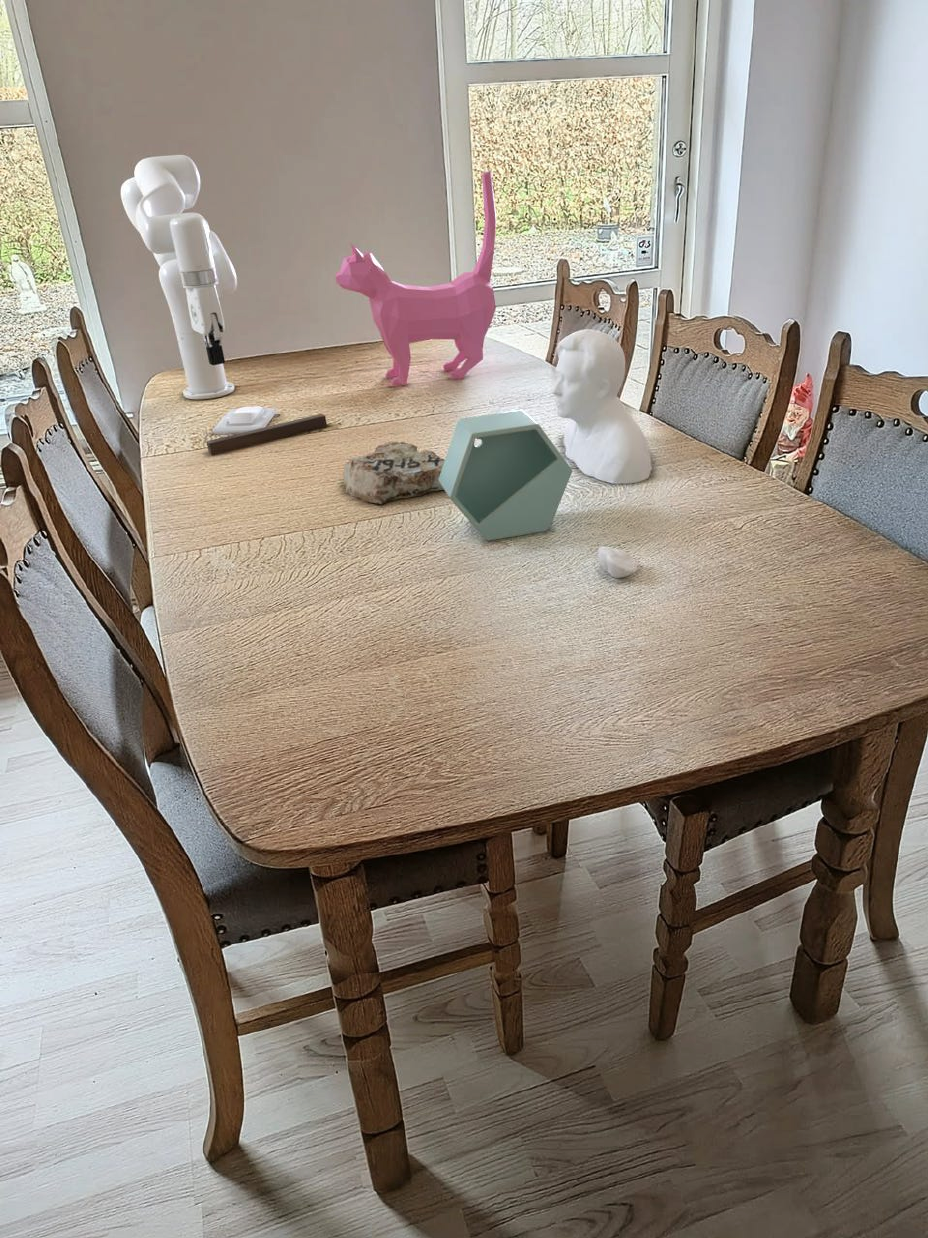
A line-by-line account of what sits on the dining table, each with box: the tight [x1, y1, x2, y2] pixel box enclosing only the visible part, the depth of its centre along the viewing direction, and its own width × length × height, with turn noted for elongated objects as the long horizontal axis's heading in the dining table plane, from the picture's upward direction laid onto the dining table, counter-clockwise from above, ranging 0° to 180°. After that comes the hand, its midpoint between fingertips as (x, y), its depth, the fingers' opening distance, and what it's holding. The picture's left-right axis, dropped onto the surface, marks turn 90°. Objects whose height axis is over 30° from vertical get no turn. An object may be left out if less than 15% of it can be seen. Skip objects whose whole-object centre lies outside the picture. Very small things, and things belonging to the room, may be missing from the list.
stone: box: [342, 441, 445, 505], centre depth 157 cm, size 19×6×25 cm
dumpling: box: [597, 545, 638, 579], centre depth 121 cm, size 7×5×4 cm
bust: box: [551, 328, 653, 485], centre depth 155 cm, size 28×19×24 cm
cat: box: [334, 170, 497, 387], centre depth 205 cm, size 13×39×45 cm, turn 104°
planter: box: [438, 409, 573, 542], centre depth 133 cm, size 17×8×21 cm
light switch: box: [212, 406, 278, 435], centre depth 192 cm, size 11×4×13 cm
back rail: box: [205, 413, 328, 456], centre depth 182 cm, size 2×26×2 cm, turn 123°
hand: (217, 363), depth 197 cm, fingers closed
